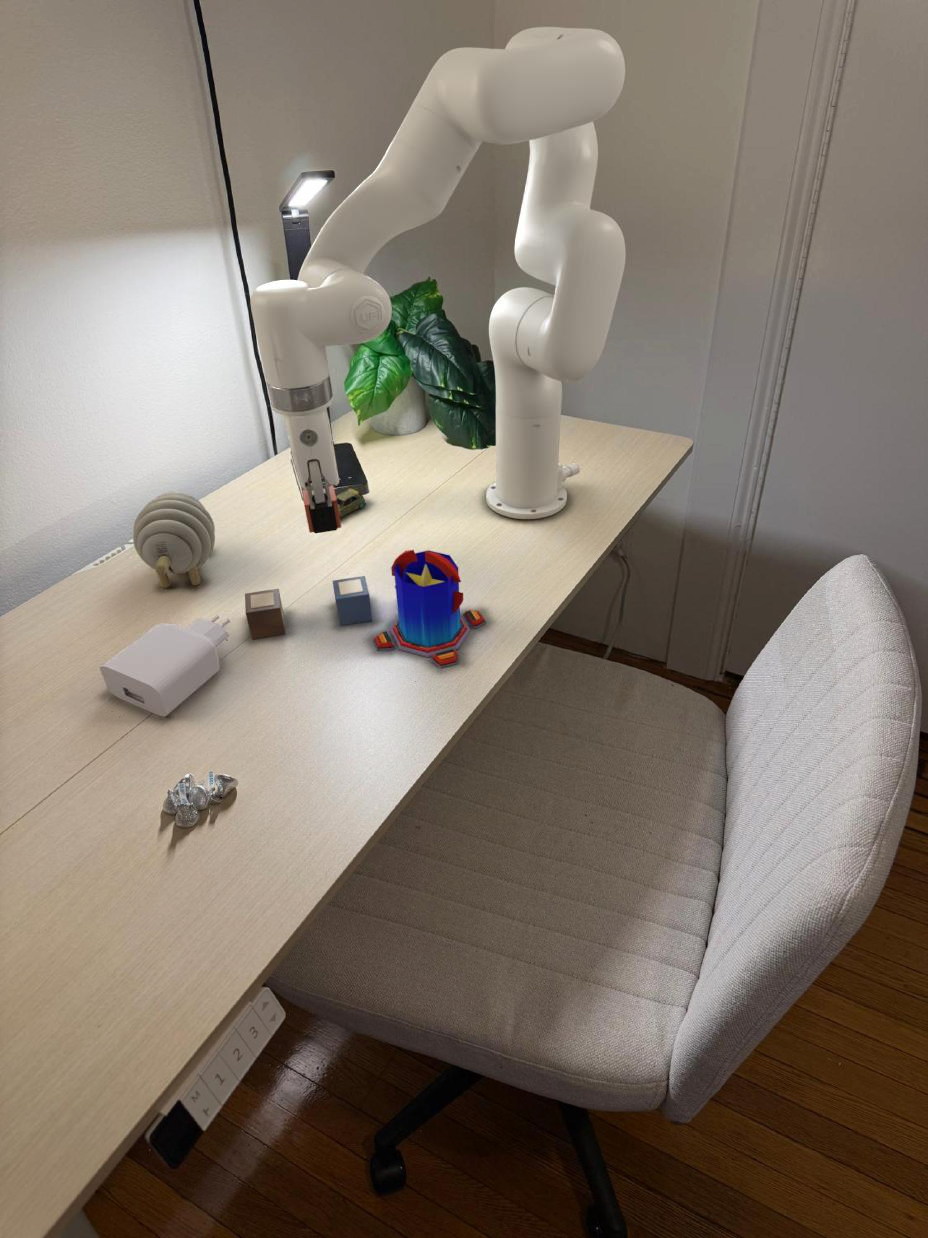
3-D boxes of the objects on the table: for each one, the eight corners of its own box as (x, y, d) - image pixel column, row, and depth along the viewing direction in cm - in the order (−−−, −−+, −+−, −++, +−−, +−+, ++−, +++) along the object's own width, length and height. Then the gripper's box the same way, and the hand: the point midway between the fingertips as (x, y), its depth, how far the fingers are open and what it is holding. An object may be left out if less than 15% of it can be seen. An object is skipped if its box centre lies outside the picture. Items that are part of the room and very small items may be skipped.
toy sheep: (225, 536, 122) (209, 469, 115) (220, 602, 109) (201, 530, 102) (152, 545, 121) (131, 477, 114) (137, 612, 107) (113, 540, 101)
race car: (314, 517, 126) (311, 503, 124) (353, 497, 130) (351, 483, 129) (329, 525, 124) (327, 510, 122) (368, 504, 128) (367, 490, 127)
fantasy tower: (365, 647, 100) (355, 566, 93) (409, 595, 109) (403, 516, 102) (453, 671, 96) (449, 589, 89) (491, 615, 105) (491, 535, 98)
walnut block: (284, 614, 106) (278, 587, 104) (285, 634, 103) (280, 607, 100) (251, 619, 106) (244, 592, 103) (251, 639, 102) (245, 612, 100)
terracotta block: (337, 512, 112) (333, 484, 109) (341, 527, 109) (336, 499, 106) (307, 516, 112) (301, 489, 109) (309, 532, 108) (304, 504, 106)
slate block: (368, 601, 108) (364, 575, 105) (372, 620, 105) (369, 593, 102) (336, 606, 107) (332, 579, 105) (339, 625, 104) (335, 598, 101)
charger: (255, 643, 102) (167, 720, 91) (200, 623, 105) (109, 694, 95) (248, 613, 99) (156, 688, 88) (191, 593, 102) (97, 663, 92)
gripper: (338, 415, 93) (359, 550, 104) (325, 362, 106) (344, 487, 117) (272, 424, 92) (300, 559, 103) (266, 370, 105) (292, 495, 116)
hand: (323, 520), depth 110 cm, fingers closed on terracotta block, 4 cm apart
